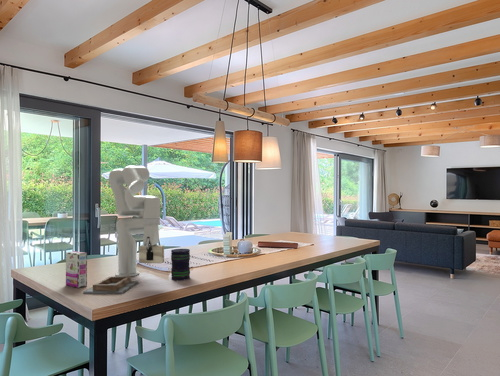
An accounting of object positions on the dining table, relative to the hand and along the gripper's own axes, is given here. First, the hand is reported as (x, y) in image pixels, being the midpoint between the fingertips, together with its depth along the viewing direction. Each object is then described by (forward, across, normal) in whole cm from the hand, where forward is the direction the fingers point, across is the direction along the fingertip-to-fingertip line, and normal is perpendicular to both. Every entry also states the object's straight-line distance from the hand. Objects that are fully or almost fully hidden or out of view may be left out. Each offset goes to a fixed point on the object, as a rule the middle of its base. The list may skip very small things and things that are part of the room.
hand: (151, 258), depth 176 cm
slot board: (+13, +5, -17) cm, 22 cm away
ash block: (+2, 0, 0) cm, 2 cm away
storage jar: (+14, -15, +11) cm, 23 cm away
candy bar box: (+14, +1, -37) cm, 40 cm away
